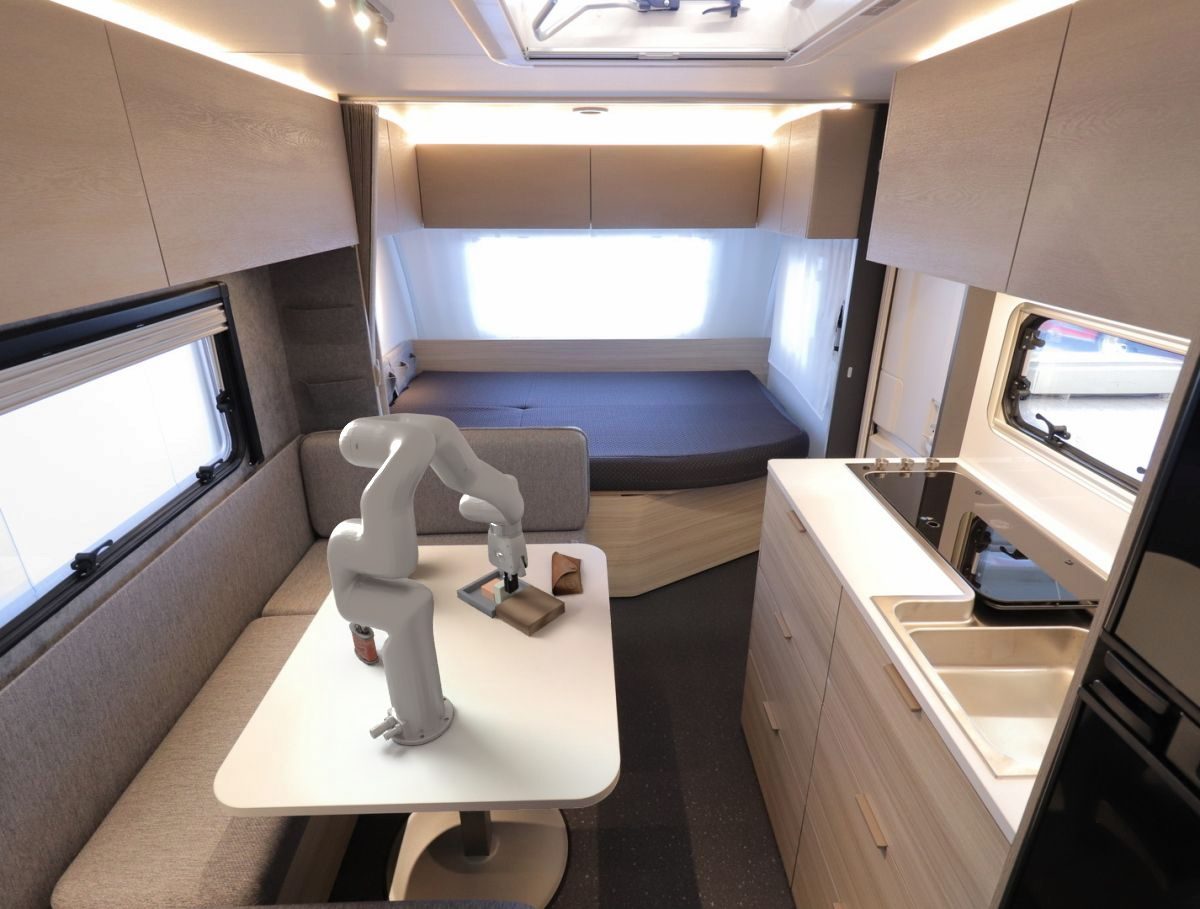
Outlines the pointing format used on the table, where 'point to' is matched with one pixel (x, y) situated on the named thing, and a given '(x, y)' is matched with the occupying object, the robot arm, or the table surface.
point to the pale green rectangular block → (501, 592)
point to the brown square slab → (530, 610)
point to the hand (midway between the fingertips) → (511, 590)
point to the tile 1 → (489, 589)
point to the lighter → (364, 644)
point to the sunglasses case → (566, 575)
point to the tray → (477, 600)
